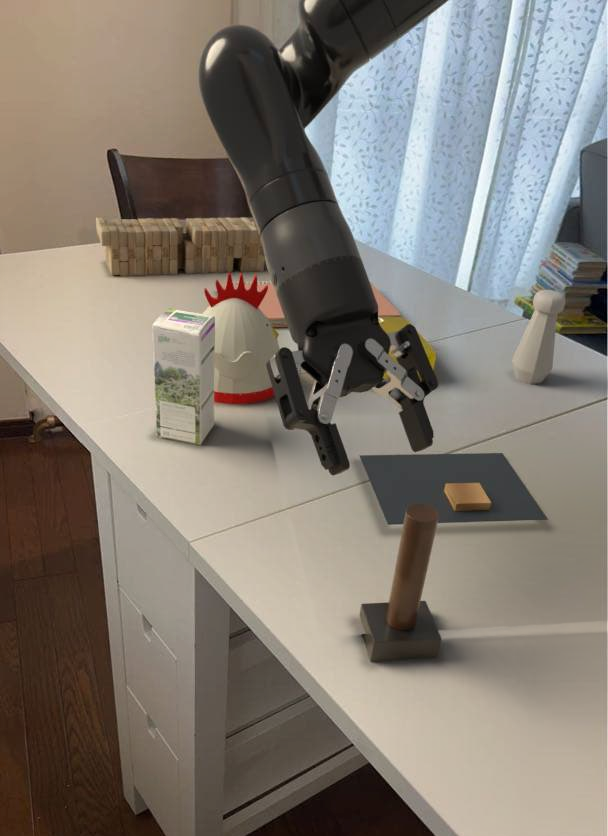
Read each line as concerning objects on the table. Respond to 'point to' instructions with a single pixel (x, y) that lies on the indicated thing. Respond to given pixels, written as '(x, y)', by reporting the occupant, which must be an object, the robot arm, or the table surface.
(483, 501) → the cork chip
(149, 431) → the table surface
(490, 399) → the table surface
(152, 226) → the block tower
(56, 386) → the table surface
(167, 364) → the syrup box
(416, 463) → the board
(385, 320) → the element tile
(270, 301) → the notebook
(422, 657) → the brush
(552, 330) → the salt shaker
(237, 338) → the kitchen timer
